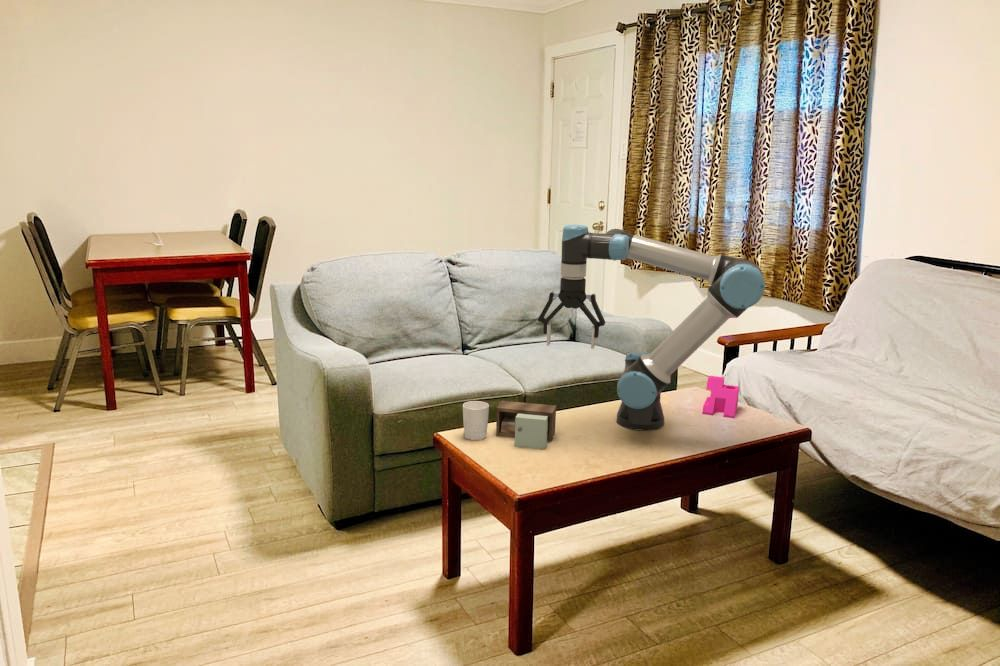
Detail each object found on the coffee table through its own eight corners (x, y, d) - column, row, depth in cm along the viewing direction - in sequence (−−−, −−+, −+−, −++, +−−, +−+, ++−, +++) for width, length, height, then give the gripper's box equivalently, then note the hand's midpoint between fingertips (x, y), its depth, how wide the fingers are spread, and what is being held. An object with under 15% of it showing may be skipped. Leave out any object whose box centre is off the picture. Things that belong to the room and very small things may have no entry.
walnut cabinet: (555, 433, 236) (556, 405, 233) (550, 444, 227) (551, 415, 224) (501, 428, 239) (501, 400, 237) (494, 438, 230) (494, 410, 228)
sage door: (546, 445, 226) (547, 416, 224) (544, 450, 222) (545, 421, 220) (517, 442, 228) (517, 413, 226) (514, 447, 224) (514, 418, 222)
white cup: (489, 432, 235) (490, 401, 233) (486, 441, 228) (487, 409, 225) (464, 431, 236) (464, 400, 234) (460, 440, 228) (460, 408, 226)
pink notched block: (706, 403, 267) (709, 375, 264) (737, 407, 263) (740, 379, 261) (702, 414, 256) (704, 384, 253) (733, 418, 252) (736, 388, 250)
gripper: (616, 277, 229) (612, 346, 234) (534, 273, 235) (532, 340, 240) (614, 281, 222) (610, 352, 227) (529, 276, 228) (527, 346, 233)
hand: (570, 346), depth 233 cm, fingers open, 13 cm apart
